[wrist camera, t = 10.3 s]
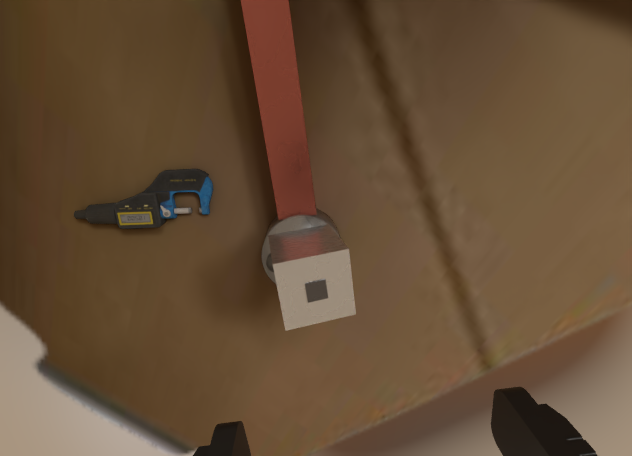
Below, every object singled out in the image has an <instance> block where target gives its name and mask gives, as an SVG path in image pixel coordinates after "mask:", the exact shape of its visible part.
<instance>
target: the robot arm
mask: <svg viewBox="0 0 632 456" xmlns="http://www.w3.org/2000/svg"><path fill="white" fill-rule="evenodd" d="M491 428H492V433H493V436H494V439H495V442H496V444H497V446H498V448H499V449H500V451H501V453H502V455H503V456H597V455H596V452H595V451H594V449H593V448H592V447H591V446H590V445H589V444H588V443H587V442H586V440H583V438H582V436H581V435H580V433H578V431H577V430H576V429H575V428H574V427H573V425H572V424H570V422H569V421H568V420H567V419H566V418H565V417H564V416H562V415H561V414H560V413H558V412H557V411H555V410H554V409H553V408H551V407H550V406H548V405H547V404H540V405H538V404H537V403H536V402H535V400H534V399H533V398H532V397H531V396H530V394H529V393H528V392H527V391H526V390H525V389H524V388H522V387H513V388H505V389H498V390H495V392H494V399H493V409H492V419H491ZM193 456H251V453H250V449H249V445H248V441H247V437H246V434H245V430H244V426H243V423H242V421H237V422H229V423H221V424H217V425H216V427H215V430H214V433H213V437H212V440H211V444H210V445H208V446H201V447H198V449H197V450H196V452H195V453H194V455H193Z"/></svg>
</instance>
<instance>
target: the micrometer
mask: <svg viewBox="0 0 632 456" xmlns="http://www.w3.org/2000/svg"><path fill="white" fill-rule="evenodd" d="M208 175H209V174H207V173H206V172H204V171H202V170H199V169H180V170H166V171H163V172H161V173H159V175H158V176H157V178H156V179H155V180H154V182H153V183H152V184H151V185H150V186H149V187H148V188H147V189H146V190H145V191H144V192H142V193H139V194H137V195H135V196H133V197H130V198H128V199H125V200H122V201H120V202H118V203H109V204H96V205H89V206H88V207H87V208H86V210H78V211H75V212H74V217H75V218H76V219H87V221H88V222H90V223H92V224H118V227H119V228H121V229H138V228H155V227H160V226H161V225H163V224H164V223H165V222H166V219H168V218H176V217H177V214H184V213H192V208H176V205H175V200H174V194H175V193H177V192H195V193H197V194H198V195H199V197H200V203H201V207H200V208H199V213H202V214H203V215H204V214H209V213H210V209H209V204H210V200H211V196H212V192H213V184H212V181H211V180H210V178H209V177H208Z"/></svg>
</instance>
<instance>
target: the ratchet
mask: <svg viewBox="0 0 632 456" xmlns="http://www.w3.org/2000/svg"><path fill="white" fill-rule="evenodd" d="M241 5H242V10H243V16H244V22H245V28H246V34H247V39H248V45H249V51H250V57H251V63H252V68H253V74H254V80H255V86H256V92H257V97H258V103H259V109H260V115H261V120H262V126H263V132H264V138H265V144H266V149H267V155H268V161H269V167H270V173H271V178H272V184H273V190H274V196H275V202H276V207H277V213H278V216H277V217H276V218H275V219H274V220H273V221H272V223H271V224H270V226H269V228H268V231H267V234H266V237H265V241H264V244H263V248H262V263H263V267H264V269H265V272H266V273H267V275H268V276H269V278H270V279H271V280H272V281H273V282H274V283H275V284H276V279H275V274H274V269H273V264H272V258H271V251H270V245H269V239H268V235H272V234H278V233H283V232H288V231H293V230H299V229H304V228H309V227H315V226H320V225H325V224H329V225H330V226H331V228H332V229H333V230H334V231H335V233H336V234H337V235H338V236H339V237H340V235H339V232H338V230H337V227H336V225H335V223H334V222H333V220H332V219H331V218H330V217H329V216H328V215H327V214H325V213H324V212H322V211H320V210H318V209H316V206H315V198H314V191H313V183H312V175H311V168H310V160H309V153H308V145H307V137H306V130H305V122H304V114H303V107H302V99H301V92H300V84H299V76H298V69H297V61H296V54H295V46H294V38H293V31H292V23H291V15H290V8H289V0H241ZM340 239H341V238H340ZM276 285H277V284H276Z"/></svg>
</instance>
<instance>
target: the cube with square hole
mask: <svg viewBox="0 0 632 456" xmlns="http://www.w3.org/2000/svg"><path fill="white" fill-rule="evenodd" d="M268 239H269V245H270V251H271V258H272V264H273V269H274V274H275V279H276V284H277V290H278V295H279V300H280V305H281V310H282V315H283V320H284V325H285V331H287V330H291V329H295V328H299V327H304V326H308V325H312V324H316V323H321V322H325V321H329V320H334V319H338V318H342V317H346V316H351V315H355V314H356V311H355V302H354V292H353V283H352V274H351V265H350V255H349V248H348V247H347V246H346V245H345V244H344V242H343V241H342V240H341V239H340V237H339V236H338V235H337V234H336V233H335V231H334V230H333V229H332V228H331V226H330V225H329V224H325V225H320V226H315V227H309V228H304V229H299V230H293V231H288V232H283V233H278V234H272V235H268Z"/></svg>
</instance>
